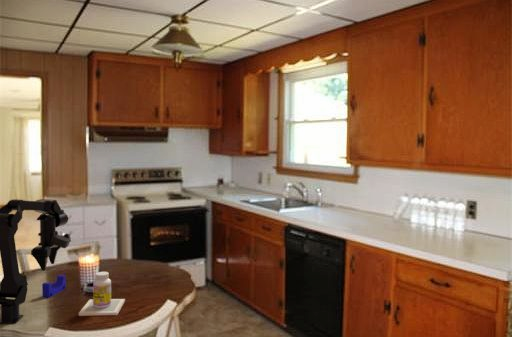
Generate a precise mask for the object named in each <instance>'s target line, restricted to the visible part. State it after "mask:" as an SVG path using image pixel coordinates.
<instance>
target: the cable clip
mask: <svg viewBox="0 0 512 337" xmlns="http://www.w3.org/2000/svg"><path fill="white" fill-rule="evenodd" d="M66 276H67V275H65V274H59V275H57V276H56V281H54V282H53V283H52V282H43V283H42V284H41V286H42V287H41V288H42V289H41V290H42V292H41V293H42V298H46V299H47V298H48V299H50V298H52V297H53V296H55V295H57V294H58V293H60V292H61V291H63V290H65V289H66V287H67V286H66V285H67V284H66V281H67V280H66Z"/></svg>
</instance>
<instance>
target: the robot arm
mask: <svg viewBox="0 0 512 337" xmlns="http://www.w3.org/2000/svg"><path fill="white" fill-rule="evenodd" d="M59 204H60V203H58V201H57V200H56V199H52V198H51V199H47V198H43V199H42V198H40V199H37V200H25V199H10V200H9V201H8V202H7V203H6V204H5V205H3V206H1V207H0V260H1V261H0V262H1V268H2V274H3V276H2V279H1V280H0V312H1V313H0V316H1V317H0V324H16V323H17V322H19V321H20V320H21V319H22V318H23V317H24V314H20V305H22V304H23V303H25V302H26V298H27V294H28V285H29V284H28V279H27V275H25V274H21V273H20V269H19V261H18V255H17V247H16V240H15V235H16V233H17V232H18V229H19V228H18V227H19V223H20V222H21V220H22V219H23V212H24V211H33V212H36V213H39V214H40V215H39V216H38V217H37V218H36V221H39V232H38V237H39V239H40V240H39V243H38V245H37V246H35V247H33V248H32V249H31V251H30V255H31V256H32V257H33V258H34V259H35V261H36V262H37V264H38V265H39V267H40V269H41V270H42V271H46V268H47V263H48V261H47V260H48V259H49V262H50V264H51V265H54V264H55V262H56V258H57V255H58V251H59V250H60V249H66V248H68V247H69V245H70V243H71V241H72V238H71V234H70V233H65V234H64V235H63V234H62V235H60V234H59V232H58V231H57V230H56V228H58V227H62V226H65V225H67V223H68V222H69V217H68V214H67V213H66V212H65V210H64V209H61V206H60V205H59ZM13 211H15V213H11V212H13Z"/></svg>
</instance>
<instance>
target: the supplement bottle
mask: <svg viewBox="0 0 512 337" xmlns="http://www.w3.org/2000/svg"><path fill="white" fill-rule="evenodd" d="M95 278H96V279H95V280H94V281H93V283H92V284H93V285H92V288H93V289H92V295H93V296H92V298H93V306H94V307H96V308H105V307H108V306H110V305H111V299H112V280H111V279H110V278H109V272H108V271H98V272H96V273H95Z"/></svg>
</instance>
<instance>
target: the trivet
mask: <svg viewBox="0 0 512 337" xmlns="http://www.w3.org/2000/svg"><path fill="white" fill-rule="evenodd" d="M125 302H126V298H111V305H110V306H108V307H105V308H96V307H94V306H93V299H92V298H91V299H88V301H87V302H86V304H85V305H84V306H83V307H82V308H81V309H80V311H79V312H78V316H79V317H83V316H84V317H85V316H86V317H87V316H118V314H119V312H120V311H121V309H122V308H123V306H124V304H125Z"/></svg>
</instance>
